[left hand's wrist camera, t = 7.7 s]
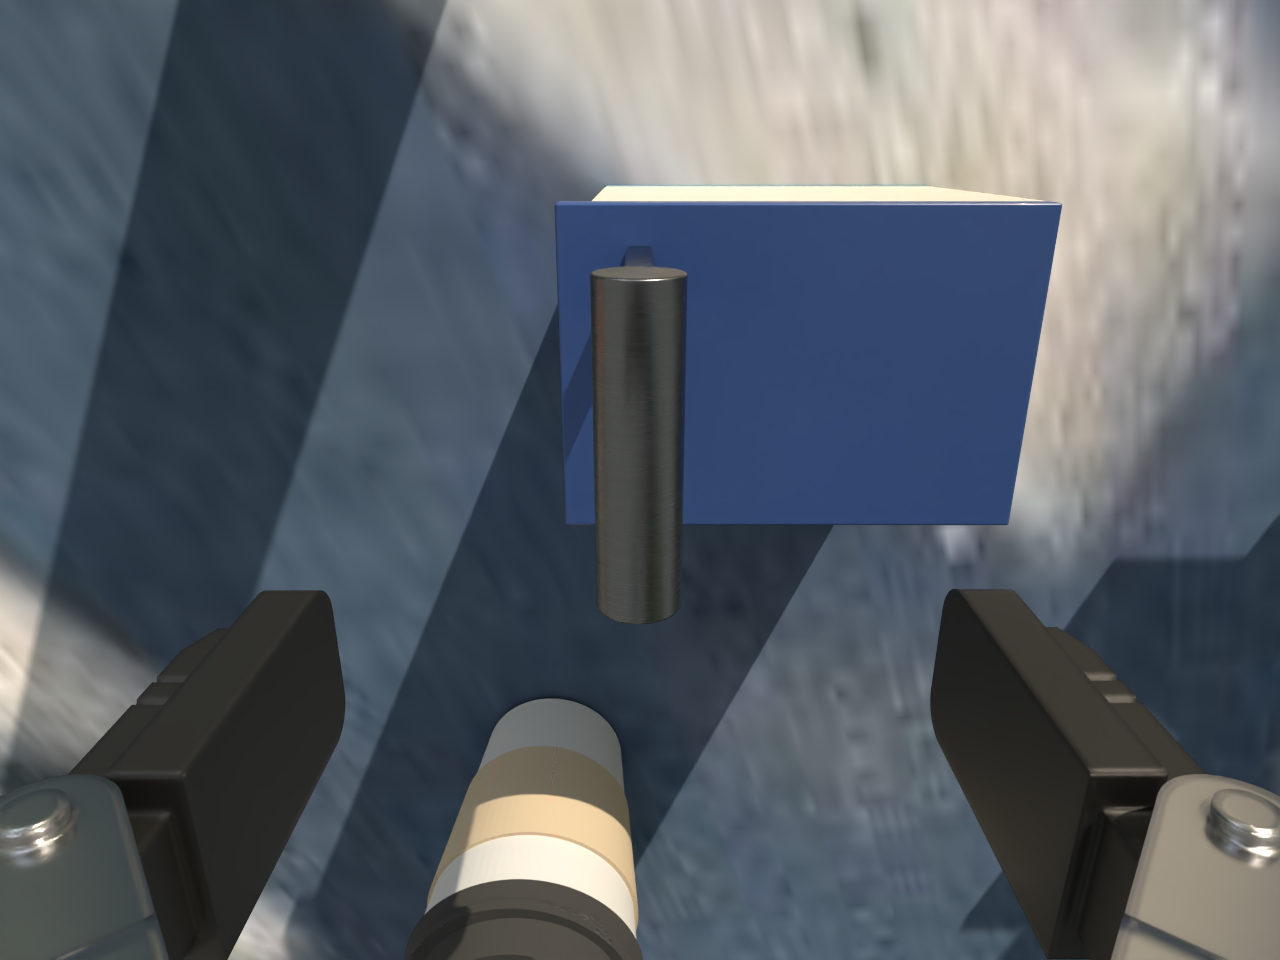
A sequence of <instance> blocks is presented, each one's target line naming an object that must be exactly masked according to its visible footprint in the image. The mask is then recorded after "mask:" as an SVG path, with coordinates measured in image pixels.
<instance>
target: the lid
mask: <svg viewBox="0 0 1280 960" xmlns="http://www.w3.org/2000/svg"><path fill="white" fill-rule="evenodd" d="M1061 208H1062V204H1061V203H1057V202H1049V201H559V202H557V203H556V204H555V231H556V261H557V290H558V319H559V349H560V378H561V407H562V437H563V466H564V496H565V522H566V524H567V525H595V551H596V600H597V606H598V608H599V610H600V611H601V612H602V613H603V614H604V615H605V616H607V617H608V618H610V619H613V620H616V621H619V622H623V623H629V624H648V623H655V622H659V621H662V620H665V619H667V618H669V617H671V616H673V615H674V614H675V613H676V612H677V611H678V610H679V608H680V606H681V588H682V537H683V525H1008V523H1009V517H1010V511H1011V505H1012V499H1013V493H1014V487H1015V481H1016V475H1017V469H1018V463H1019V457H1020V451H1021V446H1022V440H1023V434H1024V428H1025V422H1026V416H1027V410H1028V404H1029V398H1030V392H1031V386H1032V380H1033V374H1034V368H1035V363H1036V357H1037V351H1038V345H1039V339H1040V333H1041V327H1042V321H1043V315H1044V309H1045V303H1046V297H1047V291H1048V285H1049V280H1050V274H1051V268H1052V262H1053V256H1054V250H1055V244H1056V238H1057V232H1058V226H1059V220H1060V214H1061Z"/></svg>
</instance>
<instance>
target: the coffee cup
mask: <svg viewBox="0 0 1280 960" xmlns="http://www.w3.org/2000/svg"><path fill="white" fill-rule="evenodd" d="M637 924H638V905H637V894H636V884H635V873H634V863H633V852H632V841H631V831H630V820H629V810H628V804H627V800H626V797H625V794H624V782H623V770H622V757H621V748H620V743H619V740H618V738H617V736H616V734H615V732H614V730H613V729H612V727H611V726H610V725H609V723H608V722H607V721H606V720H605V719H604V718H603V717H602V716H600V715H599V714H598V713H596V712H595V711H593V710H592V709H590V708H588V707H586V706H584V705H582V704H579V703H576V702H573V701H569V700H564V699H552V698H550V699H538V700H533V701H530V702H526V703H524V704H521V705H519V706H517V707H515V708H514V709H512V710H511V711H509V712H508V713H507V714H505V715H504V716H503V717H502V718H501V719H500V721H499V722H498V723H497V725H496V726H495V728H494V730H493V732H492V735H491V737H490V740H489V743H488V746H487V748H486V751H485V754H484V756H483V759H482V762H481V764H480V767H479V770H478V772H477V774H476V775H475V777H474V778H473V780H472V781H471V783H470V785H469V788H468V790H467V793H466V796H465V798H464V801H463V804H462V806H461V809H460V811H459V814H458V817H457V819H456V822H455V825H454V827H453V830H452V832H451V835H450V838H449V840H448V843H447V846H446V848H445V851H444V853H443V856H442V859H441V861H440V864H439V867H438V869H437V872H436V874H435V877H434V880H433V882H432V885H431V888H430V891H429V894H428V900H427V909H426V912H425V915H424V916H423V917H422V918H421V919H420V921H419V922H418V923H417V925H416V926H415V928H414V930H413V931H412V933H411V936H410V938H409V941H408V944H407V947H406V953H405V960H643V957H642V953H641V950H640V947H639V944H638V942H637V940H636V929H637Z"/></svg>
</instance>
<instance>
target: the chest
mask: <svg viewBox="0 0 1280 960" xmlns="http://www.w3.org/2000/svg"><path fill="white" fill-rule="evenodd" d="M592 201H1041V200H1033V199H1026V198H1018V197H1010V196H1002V195H994V194H986V193H978V192H970V191H962V190H954V189H946V188H938V187H931V186H926V185H605V186H604V189H603V190H602V191H601V192H600V193H599V194H598V195H597V196H596V197H595V198H594V199H593V200H592Z"/></svg>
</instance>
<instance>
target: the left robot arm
mask: <svg viewBox="0 0 1280 960" xmlns="http://www.w3.org/2000/svg"><path fill="white" fill-rule="evenodd" d="M930 706H931V717H932V723H933V728H934V732H935V735H936V738H937V741H938V743H939V745H940V747H941V749H942V751H943V753H944V755H945V757H946V759H947V761H948V763H949V765H950V767H951V769H952V771H953V773H954V775H955V777H956V779H957V781H958V783H959V785H960V787H961V789H962V791H963V793H964V795H965V796H966V798H967V800H968V802H969V804H970V806H971V808H972V810H973V812H974V814H975V816H976V818H977V820H978V822H979V824H980V826H981V828H982V830H983V832H984V834H985V836H986V838H987V840H988V842H989V844H990V846H991V848H992V850H993V852H994V854H995V856H996V858H997V860H998V862H999V864H1000V866H1001V868H1002V870H1003V872H1004V874H1005V876H1006V878H1007V880H1008V882H1009V884H1010V886H1011V888H1012V890H1013V892H1014V894H1015V896H1016V898H1017V900H1018V902H1019V904H1020V906H1021V908H1022V910H1023V912H1024V914H1025V916H1026V918H1027V920H1028V922H1029V924H1030V926H1031V928H1032V930H1033V932H1034V934H1035V936H1036V937H1037V939H1038V941H1039V943H1040V945H1041V947H1042V949H1043V951H1044V953H1045V955H1046V957H1047V959H1091V960H1280V796H1278V795H1276V794H1274V793H1272V792H1269V791H1267V790H1265V789H1263V788H1260V787H1257V786H1255V785H1252V784H1249V783H1246V782H1243V781H1240V780H1236V779H1232V778H1227V777H1223V776H1216V775H1208V774H1206V773H1205V772H1204V771H1203V770H1202V769H1201V768H1200V766H1199V765H1198V764H1197V763H1196V762H1195V761H1194V760H1193V759H1192V758H1191V757H1190V755H1189V754H1188V753H1187V752H1186V751H1185V750H1184V749H1183V748H1182V747H1181V746H1180V744H1179V743H1178V742H1177V741H1176V740H1175V739H1174V738H1173V737H1172V736H1171V735H1170V733H1169V732H1168V731H1167V730H1166V729H1165V728H1164V727H1163V726H1162V725H1161V724H1160V722H1159V721H1158V720H1157V719H1156V718H1155V717H1154V716H1153V715H1152V714H1151V712H1150V711H1149V710H1148V709H1147V708H1146V707H1145V706H1144V705H1143V704H1142V703H1137V697H1136V696H1135V695H1134V694H1133V693H1132V692H1131V690H1130V689H1129V688H1128V687H1127V686H1126V685H1125V684H1124V683H1123V682H1122V681H1117V675H1116V674H1115V673H1114V672H1113V671H1112V670H1111V668H1110V667H1109V666H1108V665H1107V664H1106V663H1105V662H1104V661H1103V660H1102V659H1101V657H1100V656H1099V655H1098V654H1097V653H1096V652H1095V651H1094V650H1093V649H1092V648H1090V647H1089V646H1087V645H1085V644H1084V643H1082V642H1080V641H1079V640H1077V639H1075V638H1074V637H1072V636H1070V635H1069V634H1067V633H1065V632H1064V631H1062V630H1061V629H1059V628H1057V627H1045V626H1044V625H1043V624H1042V622H1041V621H1040V620H1039V619H1038V618H1037V617H1036V615H1035V614H1034V613H1033V612H1032V611H1031V609H1030V608H1029V607H1028V606H1027V605H1026V604H1025V602H1024V601H1023V600H1022V599H1021V598H1020V597H1019V595H1018V594H1017V593H1016V592H1015V591H1013V590H1011V589H952V590H950V591H949V592H948V594H947V596H946V598H945V601H944V605H943V610H942V617H941V624H940V631H939V638H938V645H937V652H936V659H935V666H934V673H933V680H932V686H931V697H930ZM344 715H345V692H344V684H343V677H342V671H341V664H340V657H339V650H338V643H337V637H336V630H335V623H334V616H333V610H332V605H331V601H330V599H329V596H328V595H327V593H325V592H324V591H263V592H261V593H260V594H258V595H257V597H256V598H255V599H254V600H253V601H252V602H251V604H250V605H249V606H248V607H247V608H246V609H245V611H244V612H243V613H242V614H241V615H240V616H239V618H238V619H237V620H236V621H235V622H234V623H233V625H232V626H231V627H230V628H229V629H217V630H215V631H213V632H212V633H210V634H208V635H207V636H205V637H203V638H202V639H200V640H199V641H197V642H195V643H194V644H192V645H190V646H189V647H187V648H185V649H184V650H182V651H181V652H180V653H179V654H178V655H177V656H176V657H175V658H174V659H173V660H172V662H171V663H170V664H169V665H168V666H167V667H166V668H165V669H164V670H163V671H162V672H161V674H160V675H159V676H158V677H157V682H156V683H151V685H150V686H149V687H148V688H147V689H146V690H145V691H144V692H143V693H142V694H141V695H140V697H139V698H138V699H137V704H136V705H131V706H130V707H129V709H128V710H127V711H126V712H125V713H124V714H123V715H122V716H121V717H120V718H119V719H118V721H117V722H116V723H115V724H114V725H113V726H112V727H111V728H110V729H109V730H108V731H107V733H106V734H105V735H104V736H103V737H102V738H101V739H100V740H99V741H98V742H97V743H96V745H95V746H94V747H93V748H92V749H91V750H90V751H89V752H88V753H87V754H86V755H85V757H84V758H83V759H82V760H81V761H80V762H79V763H78V764H77V765H76V766H75V767H74V769H73V770H72V771H71V772H70V773H69V774H68V775H64V776H57V777H53V778H48V779H44V780H40V781H37V782H34V783H31V784H28V785H25V786H23V787H20V788H17V789H15V790H13V791H11V792H8V793H6V794H4V795H2V796H0V960H227V959H228V957H229V955H230V953H231V951H232V950H233V948H234V946H235V944H236V942H237V940H238V938H239V936H240V934H241V932H242V930H243V928H244V926H245V924H246V922H247V920H248V918H249V916H250V914H251V912H252V910H253V908H254V906H255V904H256V902H257V900H258V899H259V897H260V895H261V893H262V891H263V889H264V887H265V885H266V883H267V881H268V879H269V877H270V875H271V873H272V871H273V869H274V867H275V865H276V863H277V861H278V859H279V857H280V855H281V853H282V851H283V849H284V848H285V846H286V844H287V842H288V840H289V838H290V836H291V834H292V832H293V830H294V828H295V826H296V824H297V822H298V820H299V818H300V816H301V814H302V812H303V810H304V808H305V806H306V804H307V802H308V800H309V798H310V796H311V795H312V793H313V791H314V789H315V787H316V785H317V783H318V781H319V779H320V777H321V775H322V773H323V771H324V769H325V767H326V765H327V763H328V761H329V759H330V757H331V755H332V753H333V751H334V749H335V747H336V745H337V743H338V741H339V738H340V735H341V732H342V728H343V723H344Z"/></svg>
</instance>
